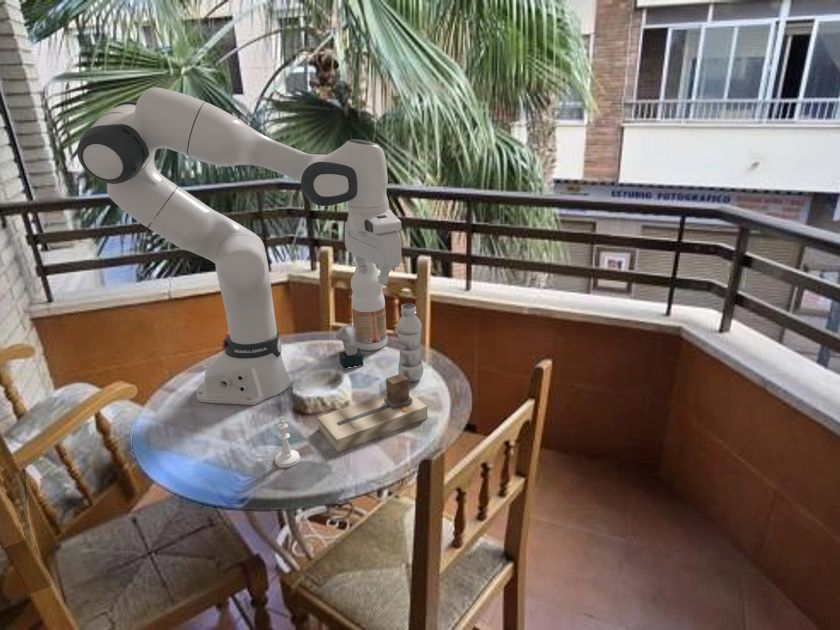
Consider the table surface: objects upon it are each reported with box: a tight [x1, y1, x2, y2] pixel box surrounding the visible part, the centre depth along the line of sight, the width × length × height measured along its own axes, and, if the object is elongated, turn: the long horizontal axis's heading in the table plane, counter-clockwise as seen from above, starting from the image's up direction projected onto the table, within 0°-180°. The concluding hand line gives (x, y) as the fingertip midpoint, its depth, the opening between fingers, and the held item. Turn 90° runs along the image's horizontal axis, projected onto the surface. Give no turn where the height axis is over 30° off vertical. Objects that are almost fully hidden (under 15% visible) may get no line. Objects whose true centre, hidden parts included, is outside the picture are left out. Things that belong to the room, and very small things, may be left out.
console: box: [317, 391, 428, 453], centre depth 119 cm, size 22×10×3 cm, turn 123°
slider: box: [384, 373, 412, 409], centre depth 120 cm, size 5×4×6 cm
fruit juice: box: [350, 259, 388, 352], centre depth 152 cm, size 9×9×28 cm
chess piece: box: [274, 416, 301, 468], centre depth 106 cm, size 5×5×10 cm
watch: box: [336, 324, 364, 369], centre depth 144 cm, size 6×8×11 cm
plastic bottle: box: [396, 303, 424, 383], centre depth 134 cm, size 6×7×20 cm
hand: (372, 278), depth 122 cm, fingers open, 8 cm apart
